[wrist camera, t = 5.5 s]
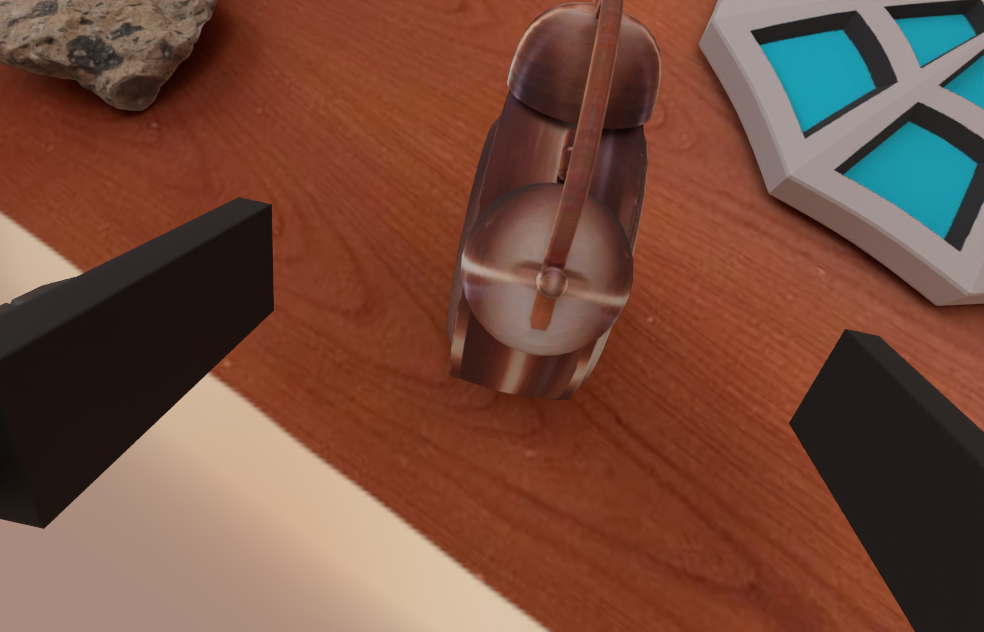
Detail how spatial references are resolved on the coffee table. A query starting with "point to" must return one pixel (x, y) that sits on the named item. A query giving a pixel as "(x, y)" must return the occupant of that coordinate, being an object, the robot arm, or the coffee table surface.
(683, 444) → the coffee table surface
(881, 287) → the coffee table surface
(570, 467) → the coffee table surface
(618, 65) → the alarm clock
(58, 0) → the rock
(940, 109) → the decorative platform
